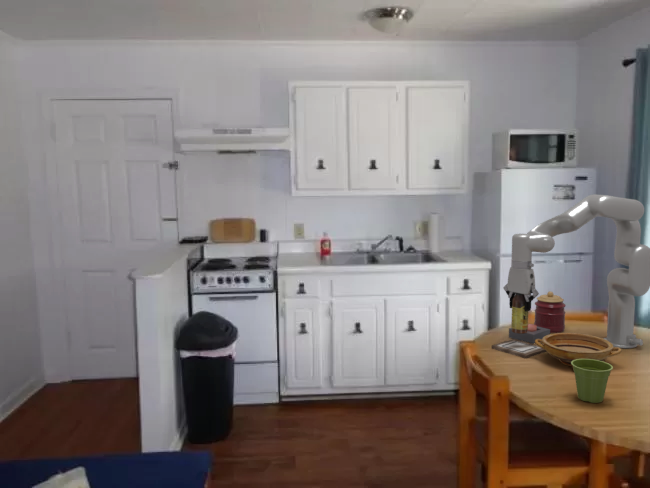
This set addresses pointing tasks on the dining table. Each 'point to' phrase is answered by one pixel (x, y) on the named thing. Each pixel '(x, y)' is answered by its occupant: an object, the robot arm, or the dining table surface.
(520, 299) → the sauce bottle
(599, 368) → the plant pot
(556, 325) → the canister
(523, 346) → the pad
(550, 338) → the ceramic bowl
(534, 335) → the button housing
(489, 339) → the dining table surface
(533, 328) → the button
